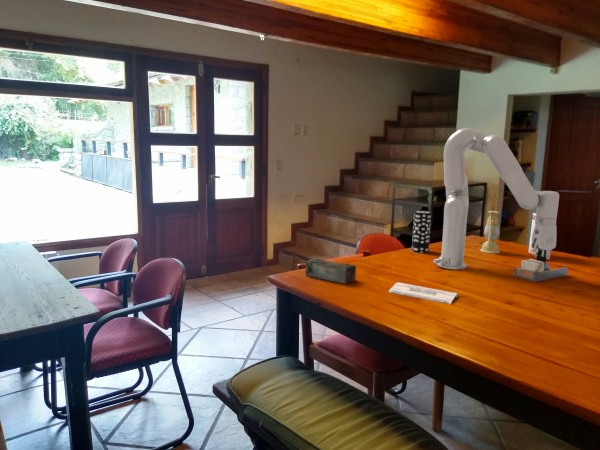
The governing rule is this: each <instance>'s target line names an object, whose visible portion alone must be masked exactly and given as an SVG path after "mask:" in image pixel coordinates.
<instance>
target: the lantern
mask: <svg viewBox="0 0 600 450" xmlns="http://www.w3.org/2000/svg"><path fill="white" fill-rule="evenodd" d="M496 194H497V193H494V197H493V202H492V204H494V203H495V205H494V206H492V207H491V208H492V209H491V210H489V211H487V213H488V215H489V216H488V217H487V221H486V224H485V227H484V230H483V231H484V232H483V236H484V238H485V239H486V240H487V241H485V242H483V241H480V243H479V245H481V248H480V249H479V251H480V252H482V253H485V254H494V255H495V254H500V250H499V245H498V244H497V243H496V240H498V238H499V237H500V226H499V217H497V216H498V214H499V213H500V211H498V210H495V208H496V204H497V201H495V199H496V198H497V195H496ZM494 201H495V202H494Z"/></svg>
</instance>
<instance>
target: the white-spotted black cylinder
mask: <svg viewBox="0 0 600 450" xmlns="http://www.w3.org/2000/svg"><path fill="white" fill-rule="evenodd" d="M413 212H414V213H413V222H412V223H413V224H412V225H413V226H412V242H411V252H413V253H418V254H428V253H429V252H430V251H429V250H430V241H431V239H430V237H431V225H432V211H428V210H427V211H426V210H414V211H413Z"/></svg>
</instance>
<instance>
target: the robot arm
mask: <svg viewBox="0 0 600 450" xmlns="http://www.w3.org/2000/svg"><path fill="white" fill-rule="evenodd" d="M466 150H470V151H473V152H476V153H477V152H478V153H481V154H486V156H487V157H488V159H489V161H490V162H491V163H492V165H493V167H494V169H495V170H496V172H497V174H498V176H499V177H500V179H501V180H502V181H503V182H504V183H505V185H506V186H507V188H508V189H509V190H510V192H511V195H513V197H514V199H515V200H516V202H517V204H518V205H519V207H520V208H522V209H524V210H533V209H535V208H536V210H535V211H536V212H535V213H536V219H535V224H536V225H535V227H534V230H533V235H532V242H531V246H532V248H533V252H536V255H537V258H536V259H535V260H537V261H541V262H544V266H545V264H546V263H547V262H546V261H547V260H546V256H547V255H548V252H549V251H550V250H551V251H552V250H554V249H555V248H556V247H557V235H558V234H557V229H558V228H557V219H558V218H557V217H558V210H559V202H560V194H559V192H558V191H552V190H542V191H541V190H535V189H534V186H532V184H531V182H530V181H529V179H528V177H527V176H526V173H524V171H523V167H522V166H521V164H520V163H519V162H518V160H517V158H516V157H515V155H514V154H513V152H512V150H511V149H510V147H509V145H508V143H507V142H506V141H505V139H504V138H503V137H502V136H501V135H500V134H499V135H498V134H490V133H486V132H482V131H478V130H474V129H472V128H469V127H463V128H460V129H458V130H457V131H455V132H453V133H452V134H451V136H449V137H448V139H447V140H446V142H445V144H444V146H443V185H444V186H445V198H446V201H445V203H444V207H443V225H442V227H443V228H442V241H441V254H440V255H439V257H438V258H434V259H433V260H432V263H434V264H436V265H437V266H438V267H440V268H443V269H446V270H447V269H448V270H456V271H457V270H459V271H460V270H465V269H466V268H467V264H466V263H465V262H464V257H465V248H466V247H465V246H466V237H467V236H466V235H467V222H468V214H469V207H470V205H469V204H470V203H469V202H470V201H469V198H470V197H469V182H468V176H467V173H466V169H465V161H466V160H465V152H466Z"/></svg>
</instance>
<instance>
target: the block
mask: <svg viewBox="0 0 600 450" xmlns="http://www.w3.org/2000/svg"><path fill="white" fill-rule="evenodd" d="M520 263H521V264H520V267H521V269H522V270H525V271H529V272H533V273H537V272H543V270H544V262H541V261H537V260H536V259H533V258H529V259H522V260H521V262H520Z"/></svg>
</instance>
